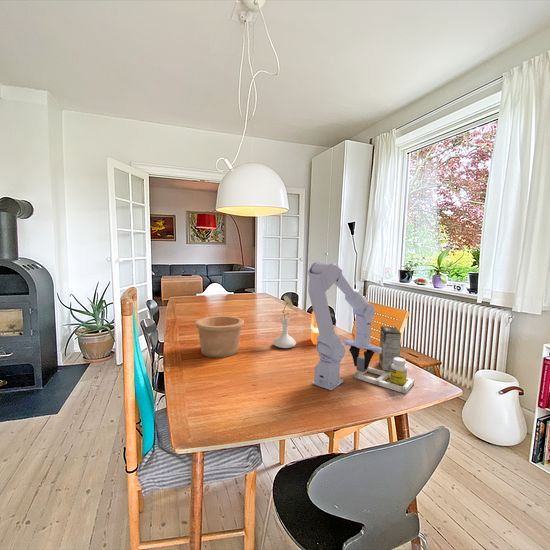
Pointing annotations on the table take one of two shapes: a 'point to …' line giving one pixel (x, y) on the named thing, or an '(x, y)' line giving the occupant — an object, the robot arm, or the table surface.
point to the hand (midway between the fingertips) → (361, 366)
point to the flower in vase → (285, 330)
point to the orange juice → (314, 329)
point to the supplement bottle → (398, 372)
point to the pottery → (219, 335)
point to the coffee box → (389, 346)
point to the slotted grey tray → (382, 378)
